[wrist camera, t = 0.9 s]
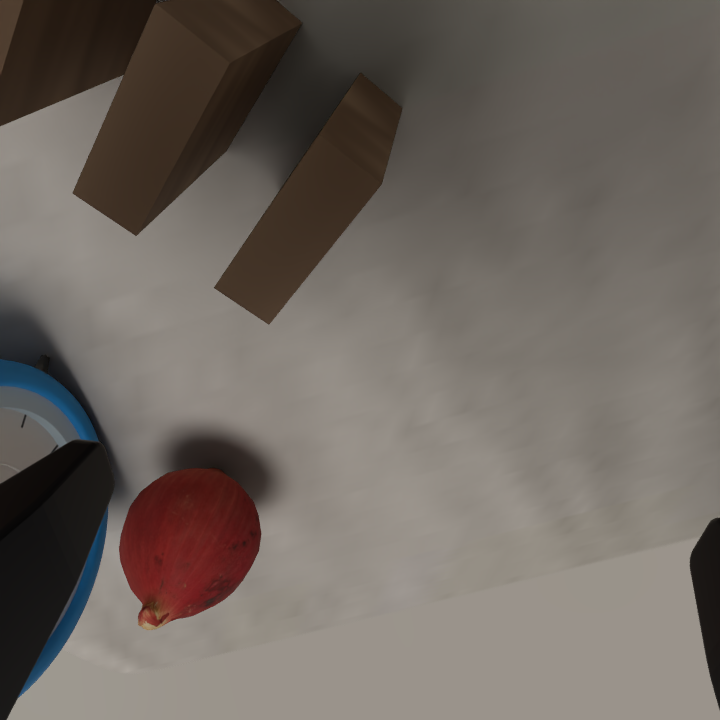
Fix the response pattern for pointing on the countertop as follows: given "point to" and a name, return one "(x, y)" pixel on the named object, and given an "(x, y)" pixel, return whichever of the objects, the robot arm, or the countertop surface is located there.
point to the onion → (188, 543)
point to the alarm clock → (33, 442)
